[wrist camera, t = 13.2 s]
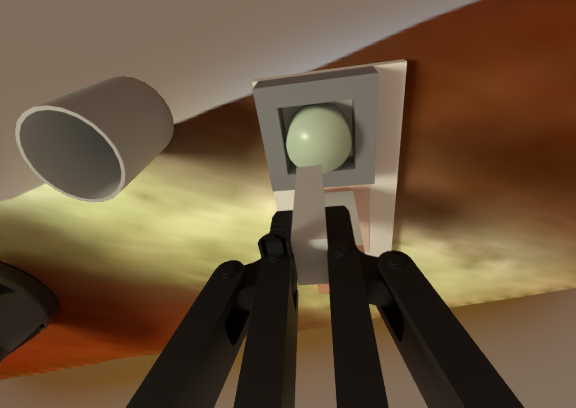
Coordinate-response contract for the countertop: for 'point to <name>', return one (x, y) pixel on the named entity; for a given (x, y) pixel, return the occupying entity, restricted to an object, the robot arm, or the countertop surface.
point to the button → (319, 137)
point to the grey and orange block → (347, 199)
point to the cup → (95, 137)
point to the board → (363, 130)
